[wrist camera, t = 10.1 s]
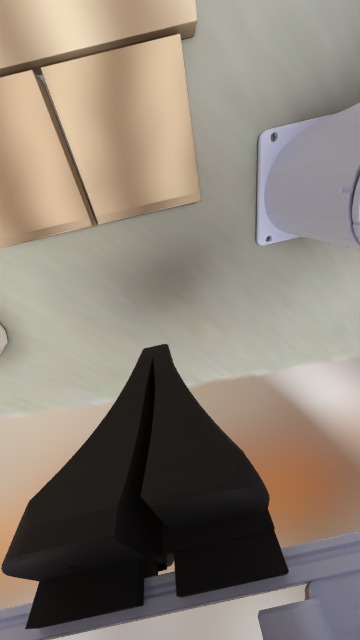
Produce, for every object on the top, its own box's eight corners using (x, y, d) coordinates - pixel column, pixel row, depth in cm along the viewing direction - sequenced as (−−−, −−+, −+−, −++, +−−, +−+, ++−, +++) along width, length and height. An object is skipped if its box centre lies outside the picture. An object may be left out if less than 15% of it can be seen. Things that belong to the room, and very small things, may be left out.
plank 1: (43, 83, 12) (31, 69, 11) (96, 225, 16) (92, 225, 15) (-82, 113, 12) (-107, 102, 11) (2, 247, 16) (-9, 249, 15)
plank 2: (178, 49, 12) (180, 32, 10) (197, 201, 16) (200, 200, 14) (50, 80, 12) (39, 66, 11) (103, 223, 16) (98, 224, 15)
